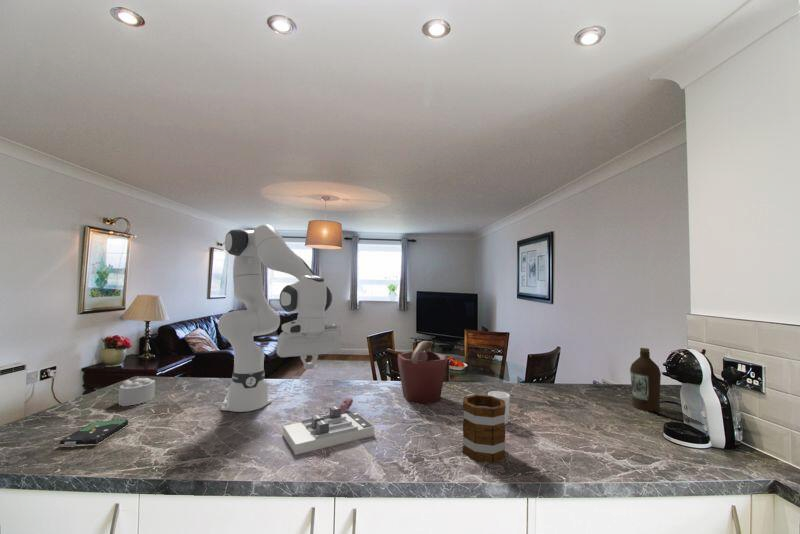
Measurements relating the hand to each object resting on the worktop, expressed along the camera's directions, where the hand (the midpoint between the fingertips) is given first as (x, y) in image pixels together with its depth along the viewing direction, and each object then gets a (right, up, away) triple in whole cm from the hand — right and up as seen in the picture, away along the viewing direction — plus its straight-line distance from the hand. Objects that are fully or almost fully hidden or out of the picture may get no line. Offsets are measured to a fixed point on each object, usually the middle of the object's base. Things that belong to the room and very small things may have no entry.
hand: (308, 368), depth 109 cm
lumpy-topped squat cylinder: (-81, -23, +32) cm, 90 cm away
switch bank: (+6, -23, +3) cm, 24 cm away
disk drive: (-68, -22, 0) cm, 72 cm away
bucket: (+40, -26, +42) cm, 64 cm away
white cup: (+66, -25, +18) cm, 73 cm away
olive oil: (+134, -28, +35) cm, 142 cm away
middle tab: (+3, -20, +1) cm, 20 cm away
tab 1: (+5, -19, -3) cm, 20 cm away
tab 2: (+7, -20, +10) cm, 23 cm away
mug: (+55, -24, -3) cm, 60 cm away
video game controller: (+7, -25, +22) cm, 34 cm away
